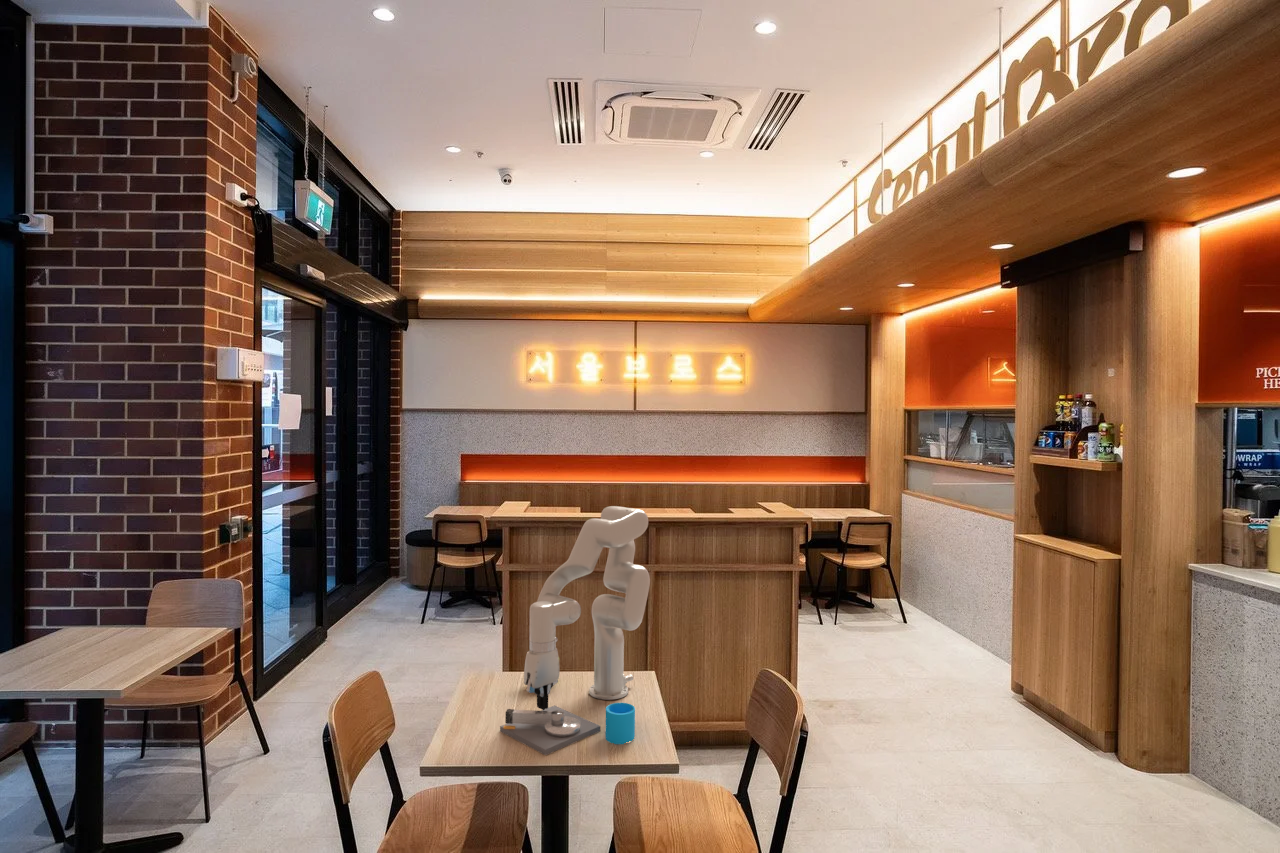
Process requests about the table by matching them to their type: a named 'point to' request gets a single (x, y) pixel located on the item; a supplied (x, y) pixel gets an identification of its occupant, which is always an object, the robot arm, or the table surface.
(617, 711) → the mug
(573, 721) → the lever
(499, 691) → the table surface
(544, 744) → the stand base
